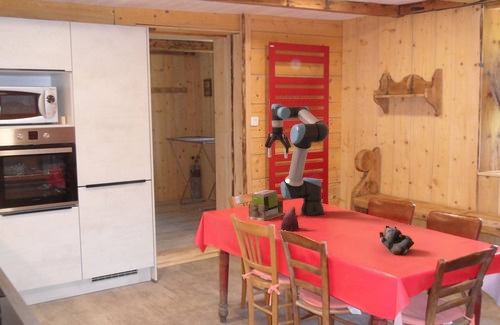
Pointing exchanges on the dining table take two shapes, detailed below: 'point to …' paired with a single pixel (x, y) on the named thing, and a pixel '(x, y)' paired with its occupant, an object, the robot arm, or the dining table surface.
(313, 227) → the dining table surface
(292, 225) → the vegetable
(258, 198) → the tea box
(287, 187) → the robot arm
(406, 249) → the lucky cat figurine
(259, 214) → the holder stand
